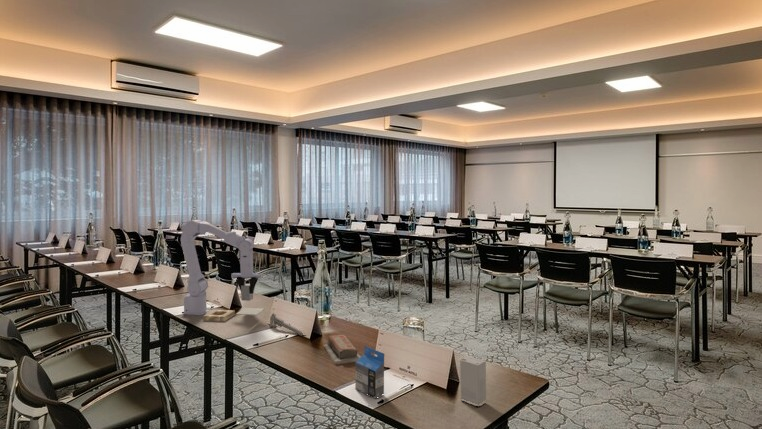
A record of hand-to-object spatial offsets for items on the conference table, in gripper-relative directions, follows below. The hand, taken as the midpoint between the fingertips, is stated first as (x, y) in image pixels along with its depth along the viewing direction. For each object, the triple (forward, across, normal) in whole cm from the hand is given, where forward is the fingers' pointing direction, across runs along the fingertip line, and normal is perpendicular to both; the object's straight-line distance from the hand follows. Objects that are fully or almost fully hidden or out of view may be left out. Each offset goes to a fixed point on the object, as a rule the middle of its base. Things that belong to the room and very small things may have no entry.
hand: (247, 293), depth 208 cm
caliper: (+10, +27, -23) cm, 37 cm away
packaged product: (+10, +55, -44) cm, 71 cm away
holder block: (+10, -9, -10) cm, 16 cm away
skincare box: (+10, +98, -74) cm, 124 cm away
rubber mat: (+10, +1, +1) cm, 10 cm away
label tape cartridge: (+10, +69, -72) cm, 100 cm away
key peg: (+3, 0, 0) cm, 3 cm away
